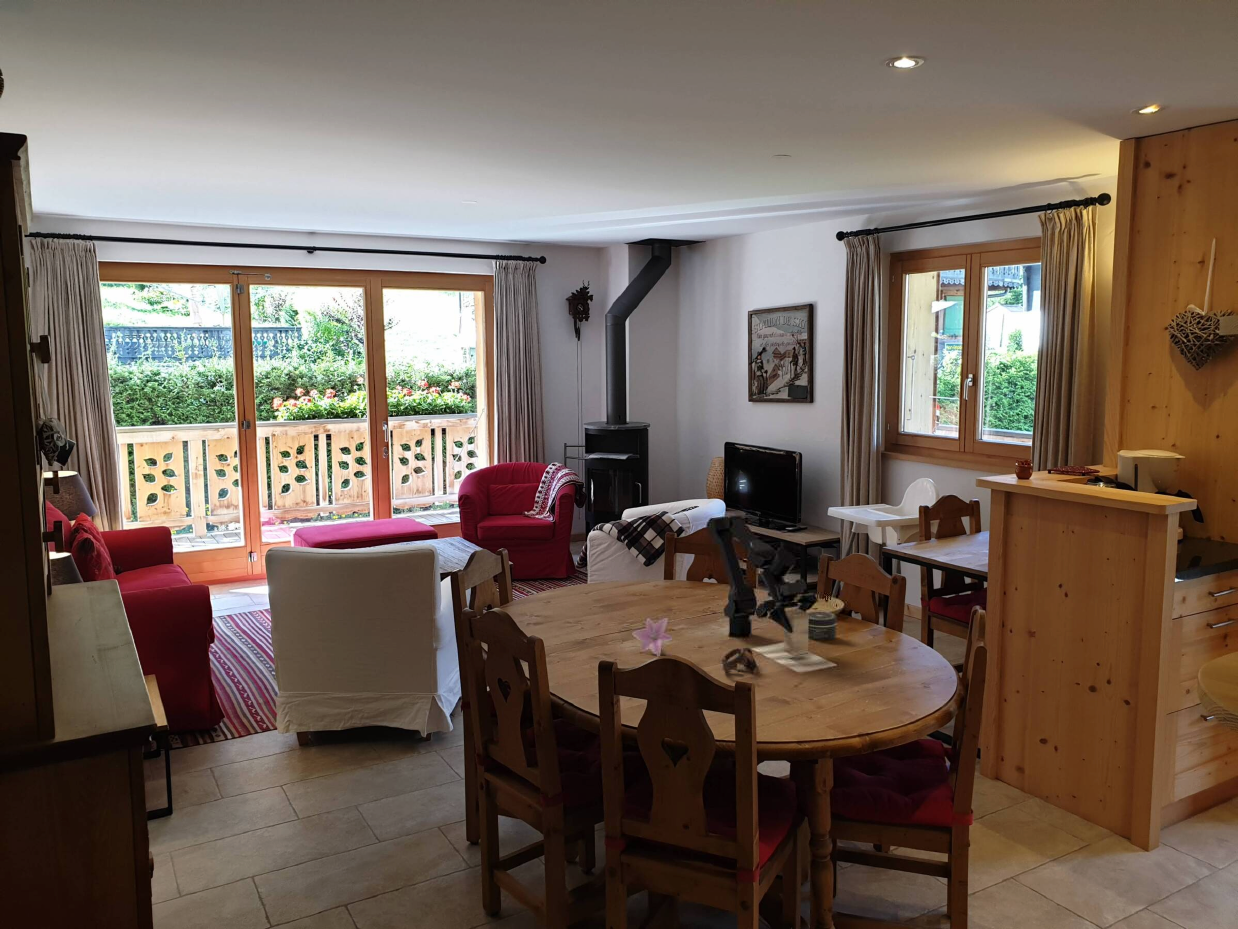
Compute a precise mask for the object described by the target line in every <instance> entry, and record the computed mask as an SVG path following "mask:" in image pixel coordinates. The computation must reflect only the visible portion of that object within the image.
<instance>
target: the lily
mask: <svg viewBox="0 0 1238 929" xmlns="http://www.w3.org/2000/svg"><path fill="white" fill-rule="evenodd" d="M668 621H669V620H668V617H665V618H663V619H660V620H659V621H657V622H656V623H654V622H653V621H652V620H651V619H650V618H649V617H648V618H647V619H646V623H645V628H641V629H638V630H635V631H632V633H631V635H632V636H633V637H634V638H636V639H637V640H639V641H641V642H642V643H641V646H640V649H645V650H646V651H648V650H649V649H650V650H651V651H652V653H653V654H654V655H655V654H659V655H658V656H659V657H660V656H661V652H662V643H667V642H669V641H672V640H673V637H672V636H671V635H670V634H667V633H666V632H665V631H666V630H665V629H666V627H667V623H668ZM658 656H657V657H658Z"/></svg>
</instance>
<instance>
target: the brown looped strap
mask: <svg viewBox="0 0 1238 929" xmlns="http://www.w3.org/2000/svg"><path fill="white" fill-rule="evenodd" d="M734 656H736V657H734ZM723 657H724V658H722V659H721V661H720V662H721V664H722V671H724V672H725V673H727V672H729V671H730V672H731V671H736V672H737V671H738V665H739V666H744V667H751V668H752V669H753V670H752V672H753V674H754V675H757V674H758V673H759V667H758V665H757V662H756V660H755V657H754V656H753V651H752V649H751V648H750V647H747V646H746V647H744V648H743V647H736V648H733V649H731V650H730V651H728V652H727V653H725V655H724V656H723ZM732 657H734V658H733V659H731V658H732ZM730 659H731V660H730ZM728 660H729V661H728Z"/></svg>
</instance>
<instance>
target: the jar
mask: <svg viewBox="0 0 1238 929" xmlns="http://www.w3.org/2000/svg"><path fill="white" fill-rule="evenodd" d="M808 613H809V624H808V640H809V639H810V640H812V641H830V640H832V641H835V639H836V637H837V615H834V614H832V613H829V612H823V611H813V612H808Z"/></svg>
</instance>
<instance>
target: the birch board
mask: <svg viewBox="0 0 1238 929" xmlns="http://www.w3.org/2000/svg"><path fill="white" fill-rule="evenodd" d="M750 649H751V651H752V650H753V651H755V652H757V653H758V654H760V655H762V656H765V657H767V658H769V659H771V660H773V661H775V662H777V663H778V664H781V665H782V666H785V667H787V668H789V669H791V670H793V671H794V672H796V673H799V674H801V673H803V674H804V673H808V672H811V671H816V670H817V671H818V670H821V669H826V668H830V667H836V666H837V663H836V664H835V663H834V662H832V661H830V660H827V659H825V658H823V657H820V656H818V655H816V654H814V653H812V652H810V651H808V654H804V655H799V656H793V655H791V654H789V653H787V652H785V651H784V641H783V642H779V643H774V644H768V645H762V646H757V647H752V648H750Z"/></svg>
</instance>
